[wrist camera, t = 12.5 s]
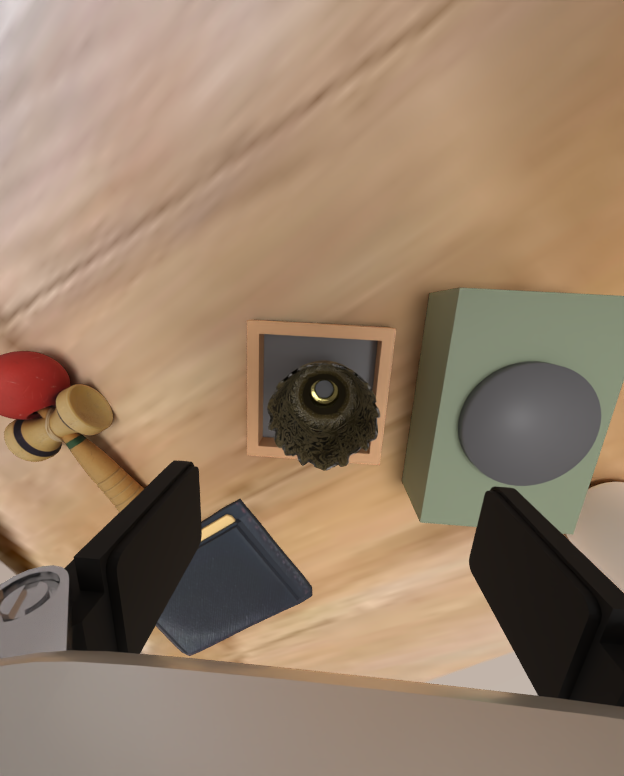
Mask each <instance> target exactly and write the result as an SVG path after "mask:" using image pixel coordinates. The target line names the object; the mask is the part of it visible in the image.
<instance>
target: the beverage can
mask: <svg viewBox="0 0 624 776" xmlns="http://www.w3.org/2000/svg"><path fill="white" fill-rule="evenodd" d="M566 535H567V537H568V539H569V540H570V541H571V543H572V544H573V545H574V546H576V547H577V548H578V549H579V550H580V551H581V552H582V553H583V554H584V555H585V556H586V557H587V558H588V559H589V560H590V561H591V562H592V563H593V564H595V565H596V566H597V567H598V568H599V569H600V570H601V571H602V572H603V573H604V574H605V575H606V576H607V577H608V578H609V579H610V580H611V581H613V582H614V583H615V584H616V585H617V586H618V587H619V588H620V589H621V590H622V591H623V592H624V482H607V483H602V484H599V485H596V486H593V487H591V488H589V489H588V491H587V494H586V497H585V500H584V503H583V506H582V509H581V512H580V515H579V518H578V521H577V524H576V528H575V531H574V534H573V535H572V534H566Z"/></svg>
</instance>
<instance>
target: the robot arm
mask: <svg viewBox="0 0 624 776" xmlns="http://www.w3.org/2000/svg"><path fill="white" fill-rule="evenodd" d="M201 537H202V528H201V507H200V486H199V469H198V467H194V464H193V463H192V462H187V461H173V462H172V463H171V464H169V465H168V466H167V467H166V468H165V469H164V470H163V471H162V472H161V473H160V474H159V475H158V476H157V477H156V478H155V479H154V480H153V481H152V482H151V483H150V484H149V485H148V486H147V487H146V488H145V489H144V490H143V491H141V492H140V493H139V494H138V495H137V496H136V497H135V498H134V499H133V500H132V501H131V502H130V503H129V504H128V505H127V506H126V507H125V508H124V509H123V510H122V511H121V512H120V513H119V514H118V515H117V516H116V517H115V518H113V519H112V520H111V521H110V522H109V523H108V524H107V525H106V526H105V527H104V528H103V529H102V530H101V531H100V532H99V533H98V534H97V535H96V536H95V537H94V538H93V539H92V540H91V541H90V542H89V543H88V544H87V545H86V546H84V547H83V548H82V549H81V550H80V551H79V552H78V553H77V554H76V555H75V556H74V560H73V561H72V562H71V563H70V564H68V565H67V566H66V567H65V568H62V567H59V566H42V567H38V568H35V569H31V570H28V571H25V572H23V573H21V574H18V575H16V576H14V577H12V578H10V579H9V580H7V581H5V582H4V583H2V584H0V776H624V593H623V592H622V591H621V590H620V589H619V588H618V587H617V586H616V585H615V584H614V583H613V582H612V581H611V580H610V579H609V578H608V577H606V576H605V575H604V574H603V573H602V572H601V571H600V570H599V569H598V568H597V567H596V566H595V565H594V564H593V563H592V562H591V561H590V560H589V559H588V558H587V557H586V556H585V555H584V554H583V553H582V552H580V551H579V550H578V549H577V548H576V547H575V546H574V545H573V544H572V543H571V542H570V541H569V540H568V539H567V538H566V537H565V536H564V535H563V534H562V533H561V532H560V531H559V530H558V529H557V528H556V527H554V526H553V525H552V524H551V523H550V522H549V521H548V520H547V519H546V518H545V517H544V516H543V515H542V514H541V513H540V512H539V511H538V510H537V509H536V508H535V507H534V506H533V505H532V504H531V503H530V502H529V501H527V500H526V499H525V498H524V497H523V496H522V495H521V494H520V493H519V492H518V491H517V490H516V489H514V488H509V487H496V486H494V487H492V488H491V489H490V491H486V492H485V495H484V499H483V503H482V507H481V512H480V516H479V520H478V524H477V528H476V533H475V537H474V541H473V545H472V549H471V554H470V558H469V565H470V570H471V572H472V574H473V576H474V578H475V580H476V582H477V583H478V585H479V587H480V589H481V591H482V593H483V594H484V596H485V598H486V600H487V602H488V604H489V606H490V607H491V609H492V611H493V613H494V615H495V617H496V618H497V620H498V622H499V624H500V626H501V628H502V630H503V631H504V633H505V635H506V637H507V639H508V641H509V642H510V644H511V646H512V648H513V650H514V652H515V654H516V655H517V657H518V659H519V661H520V663H521V664H522V666H523V668H524V670H525V672H526V674H527V676H528V678H529V679H530V681H531V683H532V685H533V687H534V689H535V690H536V692H537V694H538V696H534V695H526V694H517V693H508V692H499V691H491V690H481V689H474V688H465V687H456V686H448V685H439V684H430V683H421V682H412V681H403V680H394V679H384V678H375V677H366V676H357V675H348V674H338V673H329V672H320V671H310V670H301V669H292V668H282V667H272V666H262V665H252V664H243V663H233V662H223V661H213V660H203V659H193V658H184V657H172V656H160V655H148V654H140V653H141V651H142V649H143V647H144V645H145V643H146V642H147V640H148V638H149V636H150V634H151V633H152V631H153V629H154V627H155V625H156V624H157V622H158V620H159V618H160V616H161V614H162V613H163V611H164V609H165V607H166V605H167V604H168V602H169V600H170V598H171V596H172V595H173V593H174V591H175V589H176V587H177V585H178V584H179V582H180V580H181V578H182V576H183V575H184V573H185V571H186V569H187V567H188V566H189V564H190V562H191V560H192V558H193V557H194V555H195V553H196V551H197V549H198V547H199V545H200V542H201Z"/></svg>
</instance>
